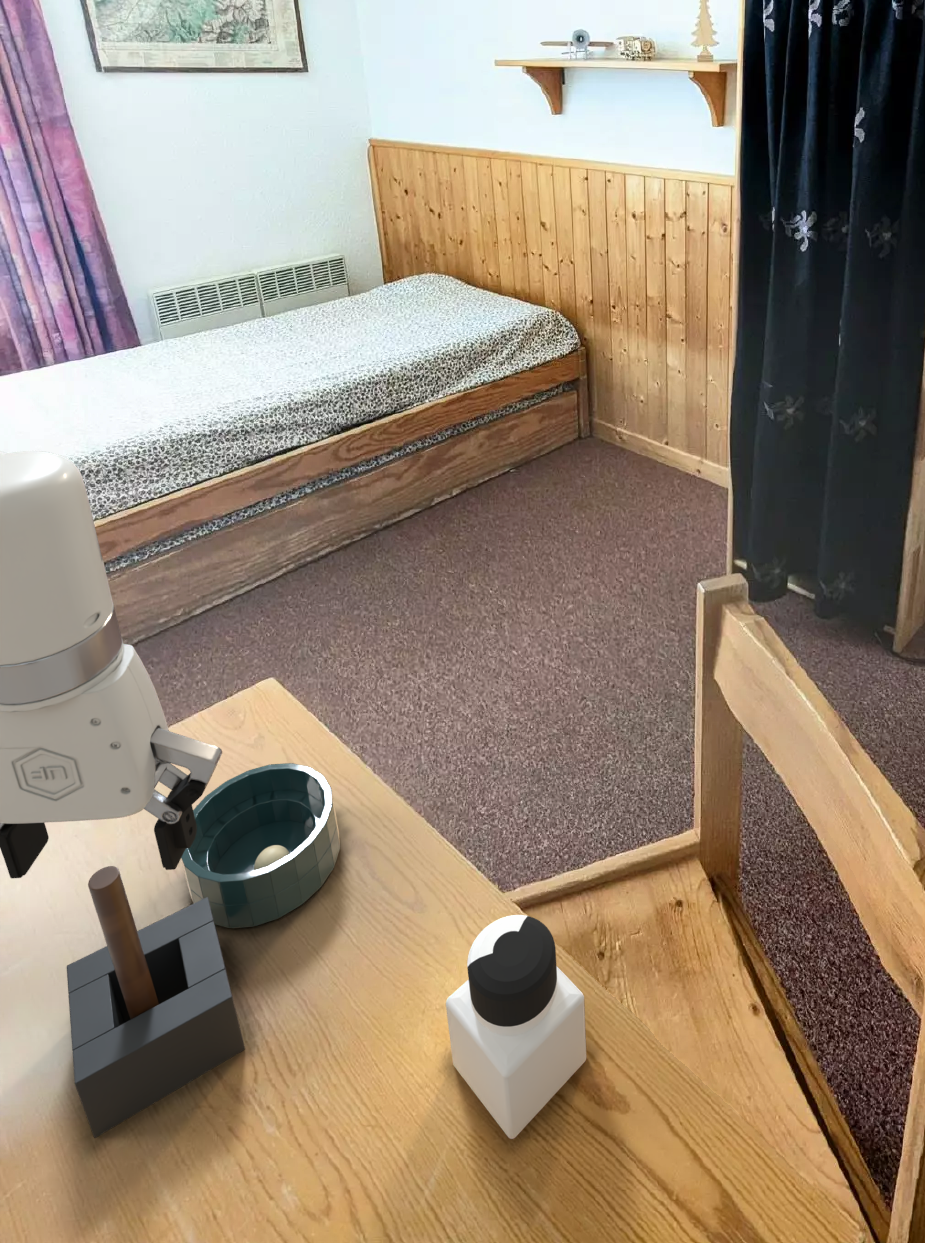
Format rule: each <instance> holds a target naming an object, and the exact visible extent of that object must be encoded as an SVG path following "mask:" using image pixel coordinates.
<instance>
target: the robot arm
mask: <svg viewBox="0 0 925 1243" xmlns="http://www.w3.org/2000/svg"><path fill="white" fill-rule="evenodd" d="M90 504H91V503H90V501H89V496H88V491H87V487H86V485H85V482H84V478H83V475H82V473H81V471H80V469H79V468H78V466H76V464H75V463H74V462H73V461H72V460H70V459H69V458H67V457H66V456H64V455H61V454H57V453H54V452H50V451H42V450H22V451H14V452H13V451H12V452H5V451H1V450H0V851H1V854H2V857H3V861H4V863H5V866H6V869H7V872H8V874H9V878H10V879H22V878H23V877H24V876H26V875H27V873H28V872H29V870H30V869H31V867H32V866H33V865H34V863H35V861H36V860H37V858H38V857H39V855H40V854H41V852H42V851H43V850H44V848H45V846H46V845H47V843H48V842H49V833H48V830H47V827H46V823H65V822H81V821H83V822H84V821H99V820H100V821H101V820H111V819H112V820H113V819H121V818H127V817H130V816H134V815H135V814H138V813H140V812H142V811H146V812H148V813H149V814H151V815H152V816H153V817H155V818H156V819H157V820H156V822H155V824H154V826H153V833H154V836H155V841H156V844H157V848H158V849H157V850H158V851H159V856H160V861H161V864H162V867H163V868H164V869H165V870H166V871H172V870H176V869H177V867H178V866H179V863H180V862H181V857H182V855H183V853H184V851H185V849H186V848H190V847H191V845H192V843H193V841H194V839H195V837H196V832H197V825H196V821H195V817H194V812H193V810H194V808H193V804H194V803H196V802H197V801H198V800H199V799H201V797H202V796H203V794H204V792H205V790H206V788H207V787H208V784H209V782H210V780H211V779H212V776H213V774H214V772H215V771H216V768H217V766H218V764H219V762H220V759H221V757H222V756H223V750H222V748H220V747H218V746H217V745H213V744H210V743H207V742H205V741H201V740H198V739H194V738H192V737H188V736H186V735H182V734H180V733H177V732H173V731H171V730H170V729H169V726H168V722H167V718H166V716H165V713H164V710H163V707H162V704H161V702H160V699H159V696H158V693H157V690H156V688H155V685H154V683H153V681H152V679H151V677H150V674H149V672H148V670H147V668H146V666H145V665H144V663H143V661H142V659H141V657H140V656H139V655H138V653H137V651H136V649H135V647H134V646H133V645H132V644H127V643H124V642H123V641H124V640H123V636H122V632H121V629H120V624H119V621H118V616H117V611H116V608H115V604H114V601H113V597H112V593H111V588H110V584H109V583H110V582H109V579H108V576H107V571H106V567H105V562H104V559H103V555H102V551H101V547H100V543H99V539H98V534H97V530H96V526H95V521H94V518H93V513H92V509H91V505H90ZM175 765H176V766H178V767H182V768H184V769H187V770H188V771H189V772H190V773H188V774H187V773H185V772H184V771H183V770H181V769H180V768H178V767H176V766H175ZM159 783H161V784H162V785H163V786H165V787H166V788H168V789H169V790H170V791H169V793H168V795H167V796H166V795H164V794H162V793H161V792H160V791H158V790H157V789H156V787H157V785H158V784H159Z"/></svg>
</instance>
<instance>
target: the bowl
mask: <svg viewBox="0 0 925 1243" xmlns="http://www.w3.org/2000/svg"><path fill="white" fill-rule="evenodd" d="M334 801H335V800H334V795H333V790H332V787H331V785H330V783H329V782H328V780H327V779H326V777H325V776H324V774H322V773H320V772H319V771H318V770H316V769H314V768H313V767H311V766H308V765H303V764H298V763H294V762H285V763H271V764H266V765H263V766H258V767H256V768H251V769H249V770H246V771H244V772H241V773H240V774H238V775H236V776H234V777H231V778H229V779H227V780H226V781H223V783H221V784H220V785H219V786H218V787H216V788H214V789H213V790H212V791H211V792H209V793H208V794H206V795H205V796H204V797H203V799H202V800H201V801H200V802H199V803H198V804H197V805H196V806H195V807H194V808H193V812H194V817H195V821H196V825H197V832H196V837H195V839H194V841H193V843H192V845H191V847H190V848H186V849H185V851H184V853H183V855H182V857H181V859H180V862H181V865H182V869H183V873H184V877H185V881H186V885H187V888H188V893H189V896H190V900H191V901H192V902H191V903H192V904H194V903H196V902H198V901H200V900H202V899H204V898H206V897H208V898H209V902H210V906H211V910H212V914H213V918H214V922H215V926H219V927H223V928H228V929H239V928H253V927H257V926H261V925H263V924H266V923H270V922H272V921H275V920H277V919H278V920H279V919H280V918H282V917H284V916H285V915H287V914H289V913H290V912H292V911H294V910H296V909H298V907H300V906H302V905H304V904H305V903H306V902H307V901H308V900H309V899H310V898H311V897H312V896H313V895H314V894H316V892H318V891H319V890H320V889H321V887H322V886H323V885H324V884H325V882H326V880H327V879H328V877H329V876H330V874H331V873H332V872H333V870H334V869H335V866H336V863H337V859H338V856H339V853H340V851H341V840H340V831H339V826H338V825H339V824H338V818H337V813H336V808H335V802H334ZM273 845H280V846H283V847H285V848H286V849H287V850H288V851H289V853H290V854H289V855H287V856H285V857H283V858H281V859H280V860H278V861H276V862H274V863H272V864H271V865H269V866H266V867H263V868H260V869H257V870H254V865H255V861H256V859H257V857H258V856H259V854H260V853H261V852H262V851H263V850H264V849H266V848H267V847H270V846H273Z"/></svg>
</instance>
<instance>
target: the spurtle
mask: <svg viewBox="0 0 925 1243" xmlns="http://www.w3.org/2000/svg"><path fill="white" fill-rule="evenodd" d="M121 875H122V874H121V872H120V869H119V867H117V866H114V865H109V866H105V867H102V868H100V869H98V870H97V871H95V872H94V873H93V874H92V875H91V876H90V878H89V880H88V883H87V887H88V890H89V893H90V896H91V900H92V903H93V906H94V909H95V912H96V915H97V918H98V921H99V925H100V928H101V931H102V934H103V937H104V940H105V943H106V946H107V947H108V950H109V953H110V956H111V960H112V963H113V966H114V969H115V972H116V975H117V978H118V982H119V985H120V988H121V991H122V994H123V997H124V1001H125V1004H126V1007H127V1010H128V1013H129V1016H130V1019H133V1018H135V1017H137V1016H138V1015H140V1014H142V1013H144V1012H146V1011H148V1010H150V1009H151V1008H153V1007H155V1006H157V1005H159V1002H158V999H157V996H156V992H155V989H154V986H153V982H152V979H151V976H150V972H149V969H148V965H147V962H146V959H145V955H144V952H143V949H142V945H141V942H140V939H139V935H138V932H137V931H138V929H137V926H136V922H135V919H134V915H133V912H132V909H131V905H130V903H129V902H130V901H129V898H128V896H127V892H126V888H125V885H124V882H123V878H122V876H121Z"/></svg>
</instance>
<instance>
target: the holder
mask: <svg viewBox="0 0 925 1243" xmlns="http://www.w3.org/2000/svg"><path fill="white" fill-rule="evenodd" d="M216 926H217V925H215V922H214V918H213V914H212V910H211V906H210V902H209V898H208V897H206V898H204V899H202V900H200V901H198V902H196V903H194V904H193V903H192V904H190V905H187V906H186V907H184V908H182V909H179V910H177V911H176V912H174V913H171V914H169V915H168V916H165V917H163V918H161V919H159V920H157V921H155V922H153V923H151V924H149V925H147V926H145V927H143V928H141V929H138V930H137V932H138V935H139V939H140V942H141V945H142V949H143V952H144V955H145V959H146V962H147V965H148V969H149V972H150V976H151V979H152V982H153V986H154V989H155V992H156V996H157V999H158V1002H159V1005H157V1006H155V1007H153V1008H151V1009H150V1010H148V1011H146V1012H144V1013H142V1014H140V1015H138V1016H137V1017H135V1018H133V1019H130V1016H129V1013H128V1010H127V1007H126V1004H125V1001H124V997H123V994H122V991H121V988H120V985H119V982H118V978H117V975H116V972H115V969H114V966H113V963H112V960H111V956H110V953H109V950H108V947H107V945H106V946H104V947H102V948H100V949H98V950H96V951H93V952H92V953H89V954H88V955H86V956H84V957H81V958H80V959H77V960H75V961H73V962H71V963H69V964H67V965H66V978H67V994H68V1011H69V1022H70V1038H71V1051H72V1065H73V1066H72V1067H73V1079H74V1080H73V1081H74V1086H75V1089H76V1092H77V1094H78V1097H79V1100H80V1103H81V1106H82V1108H83V1111H84V1113H85V1116H86V1119H87V1122H88V1125H89V1128H90V1130H91V1133H92V1136H93V1138H94V1139H96V1138H98V1137H99V1136H101V1135H102V1134H104V1133H106V1132H108V1131H110V1130H111V1129H113V1128H114V1127H116V1126H118V1125H120V1124H122V1123H123V1122H125V1121H126V1120H129V1119H130V1118H132V1117H133V1116H135V1115H136V1114H138V1113H140V1112H142V1111H143V1110H145V1109H146V1108H148V1107H150V1106H152V1105H154V1104H155V1103H157V1102H159V1101H161V1100H162V1099H164V1098H166V1097H167V1096H169V1095H170V1094H172V1093H174V1092H176V1091H177V1090H179V1089H180V1088H182V1087H184V1086H186V1085H187V1084H189V1083H191V1082H192V1081H194V1080H196V1079H197V1078H199V1077H202V1075H205V1074H206V1073H208V1072H210V1071H211V1070H213V1069H214V1068H216V1067H218V1066H219V1065H221V1064H223V1063H224V1062H226V1061H228V1060H230V1059H231V1058H233V1057H235V1056H237V1055H238V1054H240V1053H241V1052H244V1051H245V1050H246V1046H245V1041H244V1038H243V1034H242V1030H241V1026H240V1022H239V1017H238V1014H237V1009H236V1005H235V1000H234V997H233V992H232V989H231V984H230V980H229V976H228V975H229V974H228V971H227V967H226V964H225V959H224V956H223V951H222V947H221V943H220V938H219V935H218V931H217V927H216Z"/></svg>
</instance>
